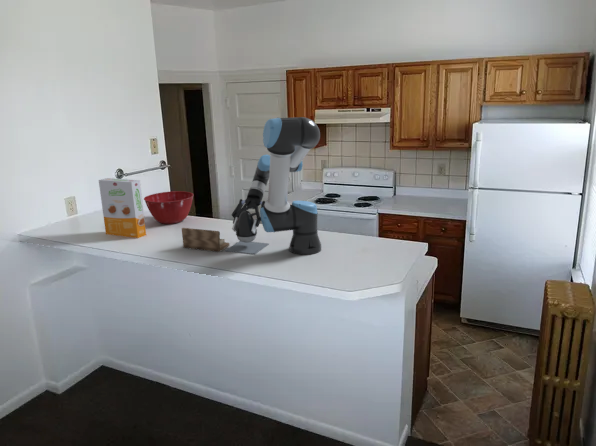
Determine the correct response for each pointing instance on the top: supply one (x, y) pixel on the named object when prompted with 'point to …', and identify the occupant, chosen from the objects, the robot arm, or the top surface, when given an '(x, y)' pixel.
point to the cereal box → (122, 207)
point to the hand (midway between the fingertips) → (243, 231)
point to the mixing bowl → (169, 206)
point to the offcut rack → (203, 240)
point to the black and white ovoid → (245, 227)
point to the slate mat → (247, 247)
